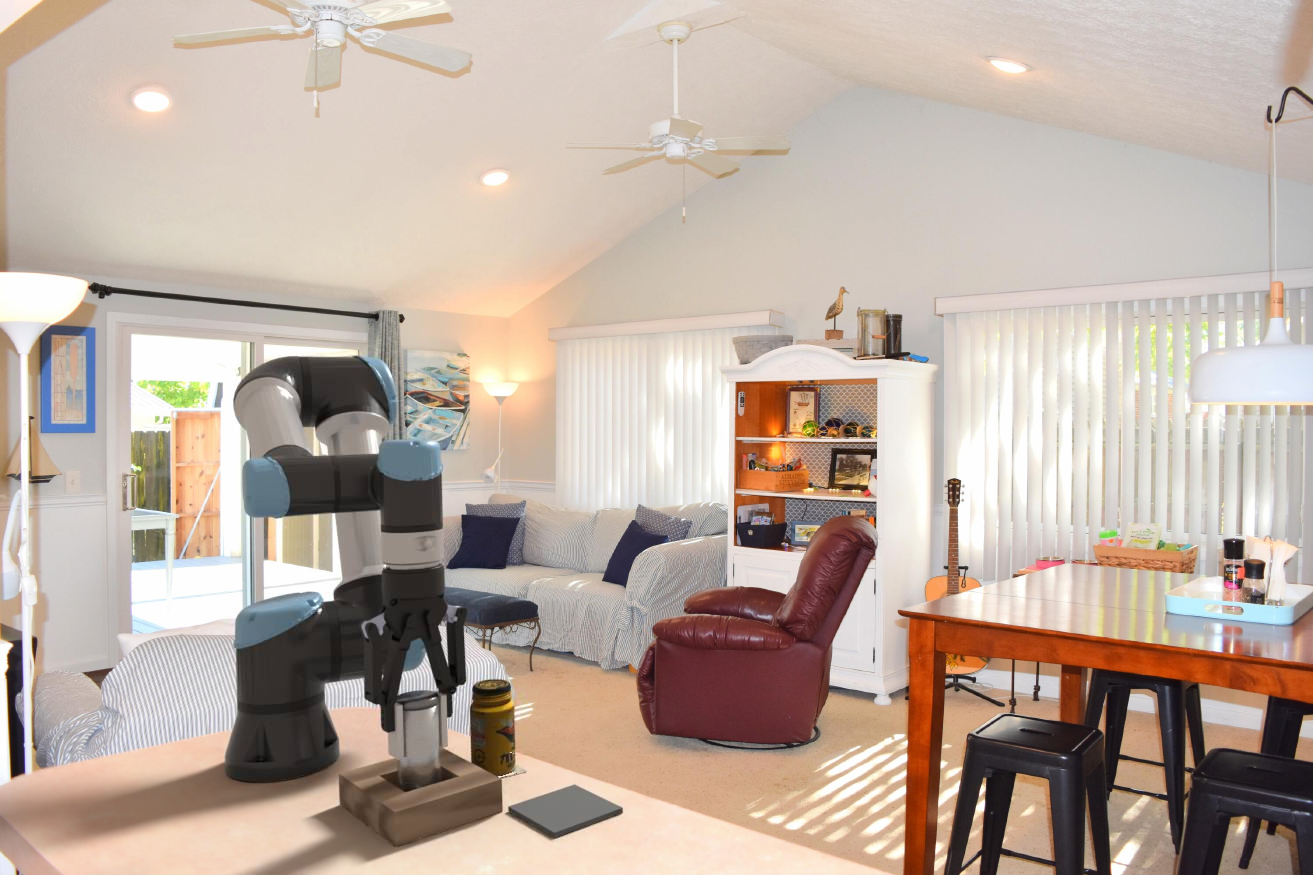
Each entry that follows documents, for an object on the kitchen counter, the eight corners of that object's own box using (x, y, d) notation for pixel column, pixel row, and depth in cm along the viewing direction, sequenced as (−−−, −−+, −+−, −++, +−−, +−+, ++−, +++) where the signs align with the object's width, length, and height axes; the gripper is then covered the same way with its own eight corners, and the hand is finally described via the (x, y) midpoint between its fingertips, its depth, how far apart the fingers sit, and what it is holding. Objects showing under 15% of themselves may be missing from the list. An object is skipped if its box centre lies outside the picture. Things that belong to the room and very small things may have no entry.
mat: (508, 811, 117) (508, 806, 117) (574, 788, 123) (574, 784, 123) (554, 837, 109) (554, 832, 109) (622, 812, 116) (622, 807, 116)
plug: (391, 807, 118) (388, 696, 118) (429, 795, 122) (426, 687, 121) (410, 820, 115) (406, 705, 114) (449, 808, 118) (445, 696, 118)
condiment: (527, 772, 129) (524, 684, 129) (468, 786, 125) (466, 696, 124) (504, 756, 135) (502, 673, 135) (447, 769, 131) (445, 683, 131)
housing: (339, 804, 120) (338, 773, 120) (440, 775, 129) (439, 745, 129) (395, 846, 108) (394, 811, 107) (502, 810, 117) (501, 778, 117)
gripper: (354, 576, 109) (360, 778, 109) (493, 558, 120) (497, 739, 121) (328, 569, 114) (334, 760, 115) (463, 552, 126) (468, 726, 127)
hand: (418, 749), depth 118 cm, fingers closed on plug, 5 cm apart
